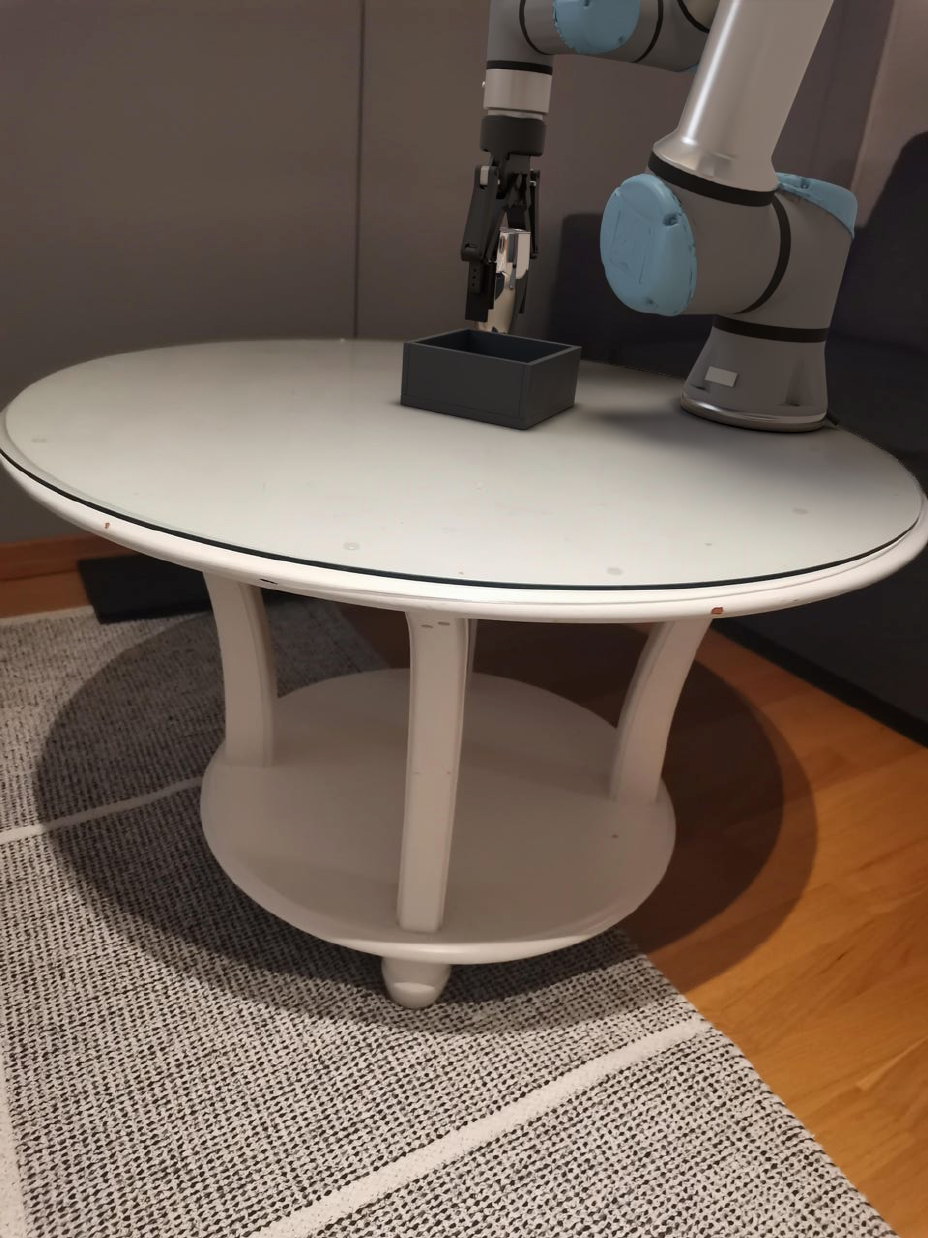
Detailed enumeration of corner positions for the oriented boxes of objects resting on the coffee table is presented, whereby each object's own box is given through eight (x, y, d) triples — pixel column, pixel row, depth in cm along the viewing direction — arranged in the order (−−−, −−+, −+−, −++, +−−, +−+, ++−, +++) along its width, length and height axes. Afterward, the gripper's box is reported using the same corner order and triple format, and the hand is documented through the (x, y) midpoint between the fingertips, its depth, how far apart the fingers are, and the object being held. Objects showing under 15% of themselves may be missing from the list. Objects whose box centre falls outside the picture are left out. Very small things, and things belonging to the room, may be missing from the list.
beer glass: (518, 353, 123) (531, 229, 116) (519, 363, 117) (534, 233, 110) (464, 348, 123) (475, 224, 116) (463, 358, 116) (474, 228, 110)
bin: (574, 404, 99) (582, 346, 96) (523, 430, 88) (531, 365, 85) (460, 382, 104) (465, 326, 101) (399, 404, 93) (403, 341, 90)
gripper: (524, 120, 118) (505, 303, 128) (439, 105, 100) (425, 321, 109) (579, 125, 116) (556, 311, 125) (503, 110, 97) (483, 330, 107)
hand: (495, 316), depth 117 cm, fingers open, 10 cm apart
